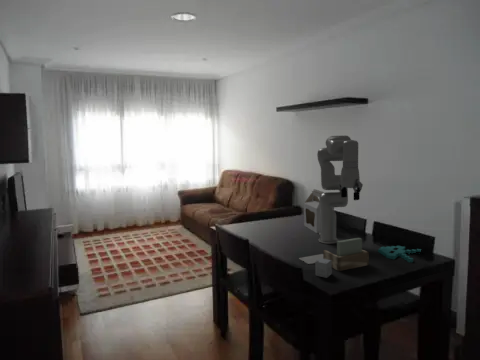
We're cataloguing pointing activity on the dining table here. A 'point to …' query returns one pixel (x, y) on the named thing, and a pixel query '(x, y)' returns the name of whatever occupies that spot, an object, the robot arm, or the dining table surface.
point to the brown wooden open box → (347, 260)
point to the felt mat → (311, 258)
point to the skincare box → (323, 267)
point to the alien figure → (397, 252)
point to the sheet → (349, 247)
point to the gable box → (313, 211)
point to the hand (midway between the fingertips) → (350, 198)
